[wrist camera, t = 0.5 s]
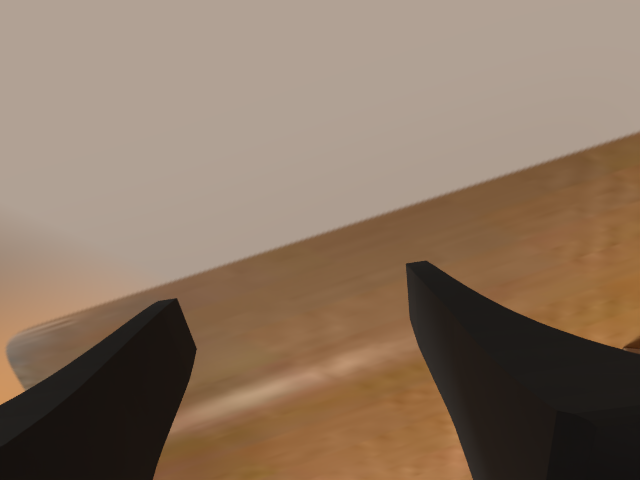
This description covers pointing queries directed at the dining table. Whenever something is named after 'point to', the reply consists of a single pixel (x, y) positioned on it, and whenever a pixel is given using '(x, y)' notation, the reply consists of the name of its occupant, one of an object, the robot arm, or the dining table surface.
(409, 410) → the dining table surface
